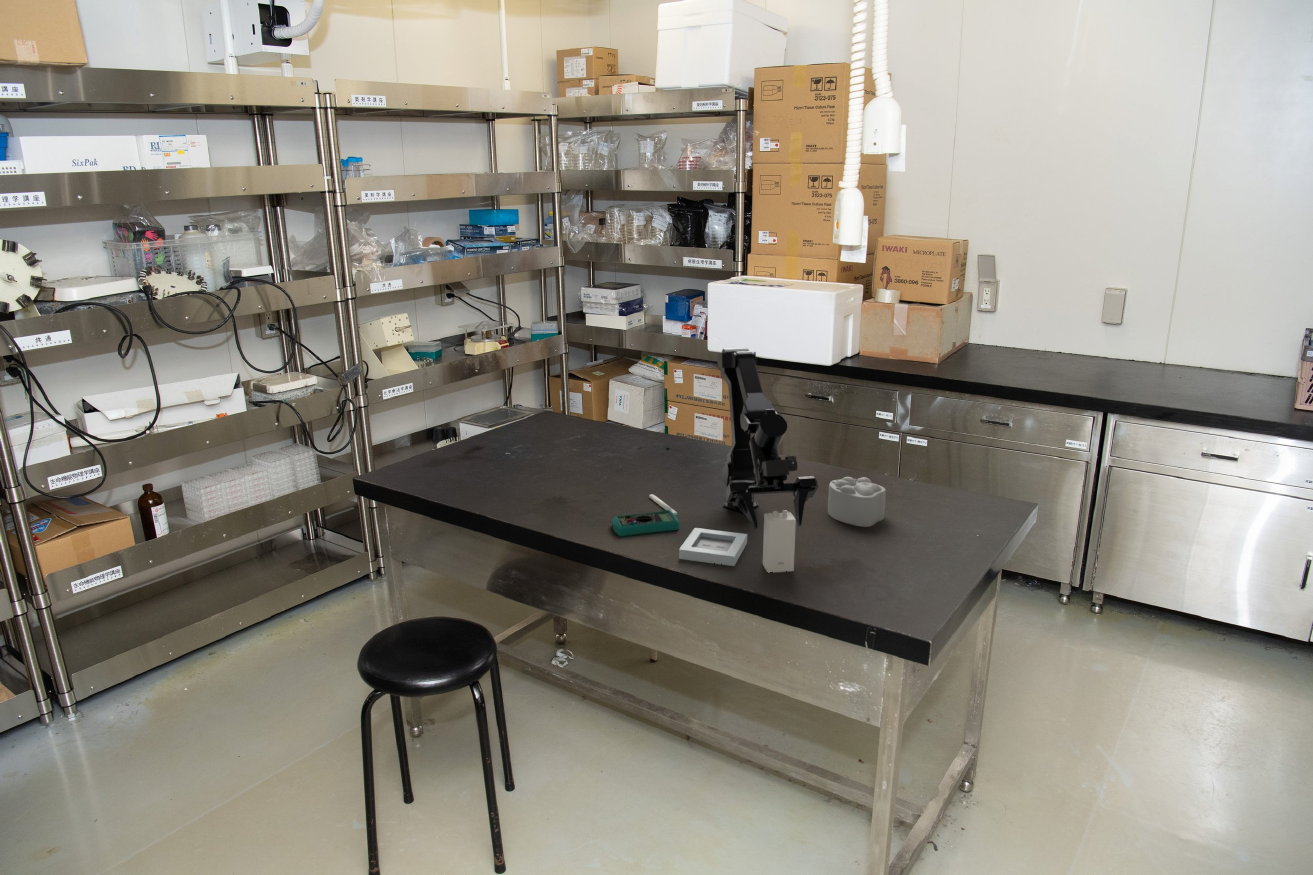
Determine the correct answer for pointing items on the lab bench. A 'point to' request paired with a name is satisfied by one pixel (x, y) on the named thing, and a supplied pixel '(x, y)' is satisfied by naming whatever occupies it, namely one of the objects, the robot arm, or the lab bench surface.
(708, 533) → the outlet plate
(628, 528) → the digital multimeter
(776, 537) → the adapter
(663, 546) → the lab bench surface
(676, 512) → the white rod
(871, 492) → the lumpy-topped squat cylinder
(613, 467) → the lab bench surface
